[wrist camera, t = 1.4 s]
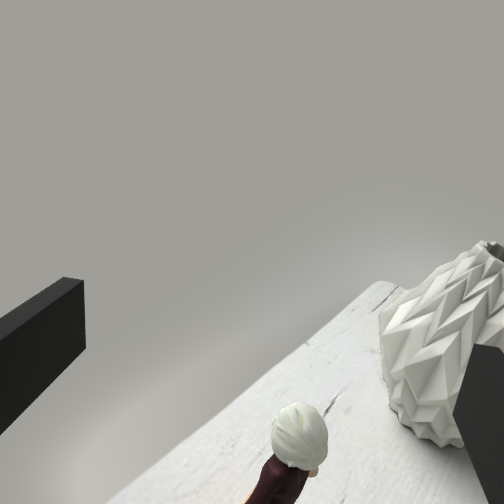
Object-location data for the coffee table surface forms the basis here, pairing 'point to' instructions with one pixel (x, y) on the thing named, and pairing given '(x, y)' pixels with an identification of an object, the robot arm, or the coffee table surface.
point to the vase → (441, 339)
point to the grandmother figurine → (291, 455)
